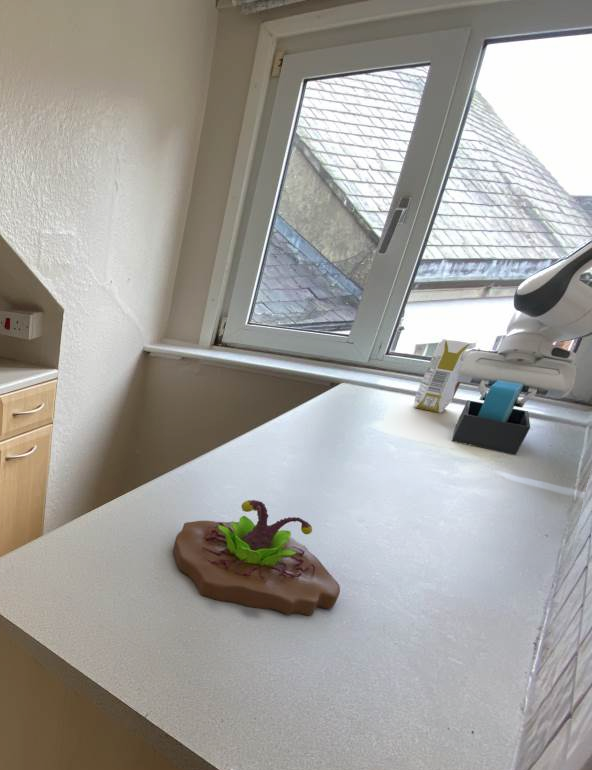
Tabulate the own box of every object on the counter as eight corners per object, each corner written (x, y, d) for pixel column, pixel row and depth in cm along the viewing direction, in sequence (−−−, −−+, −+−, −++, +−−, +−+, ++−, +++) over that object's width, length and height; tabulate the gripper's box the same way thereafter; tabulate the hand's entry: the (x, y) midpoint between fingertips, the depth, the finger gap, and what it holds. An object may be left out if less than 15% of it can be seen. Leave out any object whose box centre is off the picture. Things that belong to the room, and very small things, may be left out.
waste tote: (514, 437, 133) (528, 411, 131) (515, 455, 123) (530, 427, 120) (455, 424, 140) (467, 400, 137) (451, 440, 129) (464, 414, 126)
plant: (158, 527, 88) (173, 463, 83) (284, 537, 86) (307, 474, 81) (195, 607, 70) (217, 533, 65) (354, 623, 68) (390, 548, 63)
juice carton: (409, 407, 152) (439, 338, 144) (415, 401, 158) (444, 334, 149) (443, 414, 147) (476, 343, 139) (449, 408, 153) (480, 340, 144)
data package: (478, 425, 136) (499, 378, 131) (503, 430, 133) (525, 381, 128) (468, 435, 129) (490, 386, 124) (494, 441, 126) (517, 390, 121)
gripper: (469, 339, 135) (448, 385, 132) (587, 355, 122) (566, 406, 120) (461, 354, 140) (442, 399, 137) (574, 371, 127) (554, 420, 125)
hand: (501, 402), depth 129 cm, fingers closed on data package, 5 cm apart
